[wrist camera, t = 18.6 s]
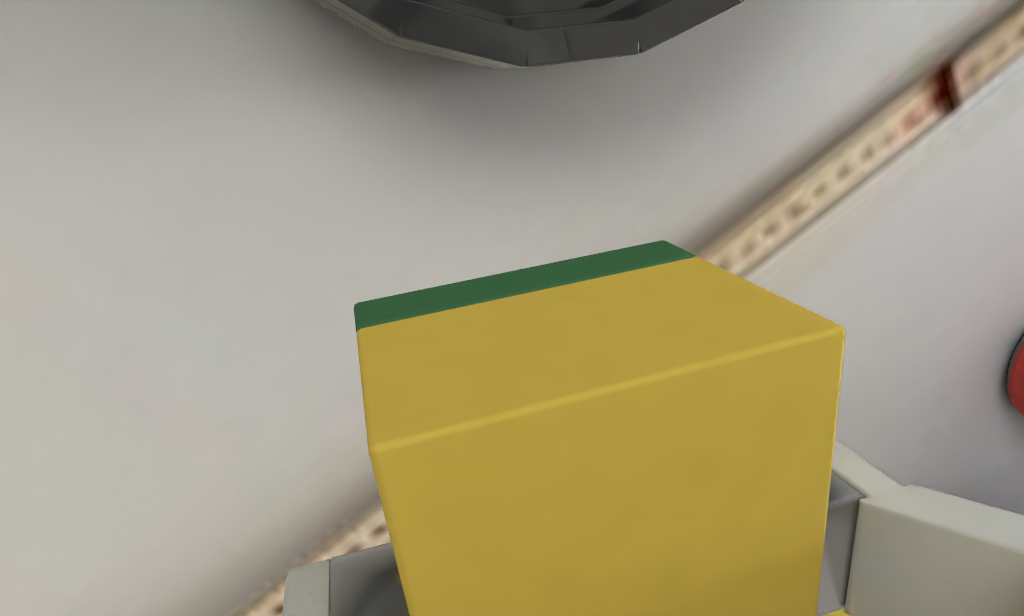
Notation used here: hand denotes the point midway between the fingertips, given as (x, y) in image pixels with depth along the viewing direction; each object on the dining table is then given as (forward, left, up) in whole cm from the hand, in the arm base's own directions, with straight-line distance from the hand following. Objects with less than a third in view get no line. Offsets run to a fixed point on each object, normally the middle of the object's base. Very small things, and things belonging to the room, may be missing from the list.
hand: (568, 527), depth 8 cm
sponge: (0, 0, -1) cm, 1 cm away
